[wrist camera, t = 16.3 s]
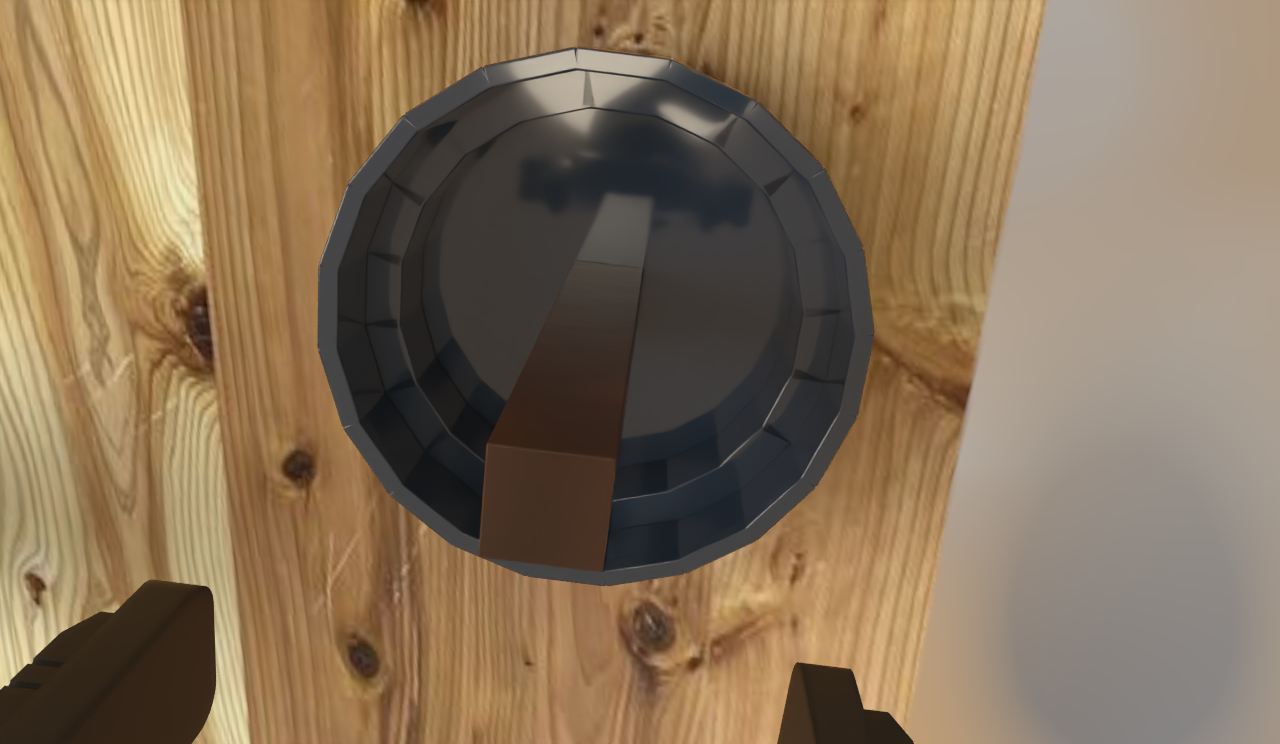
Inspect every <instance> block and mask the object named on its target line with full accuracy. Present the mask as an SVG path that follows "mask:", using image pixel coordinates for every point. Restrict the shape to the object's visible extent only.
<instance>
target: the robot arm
mask: <svg viewBox="0 0 1280 744" xmlns="http://www.w3.org/2000/svg"><path fill="white" fill-rule="evenodd" d="M215 688H216V660H215V629H214V601H213V595H212V592H211V590H210V589H209V588H208V587H207V586H199V585H192V584H184V583H176V582H168V581H160V580H149V581H147V582H145V583H144V584H143V585H142V586H141V587H140V588H139V589H138V590H137V591H136V592H135V593H134V594H133V595H132V596H131V597H130V598H129V599H128V600H127V601H126V602H125V603H124V604H123V605H122V606H121V607H120V608H119V609H118V610H117V611H116V612H115V613H108V612H99V613H97V614H95V615H93V616H91V617H89V618H88V619H86V620H84V621H82V622H80V623H78V624H76V625H74V626H72V627H70V628H69V629H67V630H65V631H63V632H61V633H60V634H59V635H58V636H57V637H56V638H55V639H54V640H53V641H52V642H50V643H49V644H48V645H47V646H46V647H45V648H44V649H43V650H42V651H41V652H40V653H39V654H38V655H37V656H36V657H35V658H34V659H33V663H32V664H27V665H26V666H25V667H24V668H23V669H22V670H21V671H20V672H19V673H18V674H17V675H16V676H15V677H13V678H12V679H11V682H10V685H9V686H4V687H3V688H2V689H1V690H0V744H192V742H193V741H194V740H195V738H196V737H197V735H198V734H199V732H200V731H201V729H202V728H203V726H204V724H205V722H206V720H207V718H208V715H209V713H210V710H211V707H212V703H213V699H214V695H215ZM777 744H914V743H913V741H912V740H911V738H910V737H909V736H908V735H907V734H906V732H905V731H904V730H903V729H902V728H901V727H900V725H899V724H898V723H897V722H896V721H895V719H894V718H893V717H892V716H891V715H890V714H889V712H881V711H873V710H865V709H863V705H862V702H861V698H860V694H859V691H858V687H857V684H856V680H855V677H854V674H853V672H852V670H851V669H846V668H838V667H830V666H822V665H814V664H806V663H798V662H797V663H796V664H795V666H794V668H793V671H792V675H791V680H790V685H789V689H788V694H787V699H786V704H785V709H784V714H783V719H782V724H781V728H780V733H779V738H778V743H777Z"/></svg>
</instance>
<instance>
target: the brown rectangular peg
mask: <svg viewBox="0 0 1280 744" xmlns="http://www.w3.org/2000/svg"><path fill="white" fill-rule="evenodd" d="M643 274H644V269H640V268H632V267H624V266H616V265H609V264H601V263H593V262H585V261H577V260H576V261H574V263H573V266H572V268H571V270H570V272H569V274H568V276H567V278H566V280H565V282H564V284H563V286H562V288H561V291H560V293H559V295H558V297H557V299H556V301H555V303H554V305H553V307H552V309H551V311H550V313H549V316H548V318H547V320H546V322H545V324H544V326H543V328H542V330H541V332H540V334H539V336H538V338H537V340H536V343H535V345H534V347H533V349H532V351H531V353H530V355H529V357H528V359H527V361H526V363H525V365H524V368H523V370H522V372H521V374H520V376H519V378H518V380H517V382H516V384H515V386H514V388H513V390H512V393H511V395H510V397H509V399H508V401H507V403H506V405H505V407H504V409H503V411H502V413H501V415H500V418H499V420H498V422H497V424H496V426H495V428H494V430H493V432H492V434H491V436H490V438H489V440H488V443H487V445H486V458H485V472H484V485H483V499H482V513H481V526H480V540H479V553H478V555H479V557H482V558H490V559H498V560H506V561H514V562H522V563H530V564H538V565H546V566H554V567H562V568H570V569H578V570H586V571H594V572H602V571H603V566H604V559H605V552H606V545H607V538H608V530H609V523H610V516H611V509H612V502H613V495H614V488H615V481H616V473H617V466H618V459H619V452H620V445H621V438H622V431H623V423H624V416H625V409H626V402H627V395H628V388H629V381H630V373H631V366H632V359H633V352H634V345H635V338H636V330H637V322H638V314H639V306H640V298H641V290H642V282H643Z"/></svg>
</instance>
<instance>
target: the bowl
mask: <svg viewBox="0 0 1280 744" xmlns="http://www.w3.org/2000/svg"><path fill="white" fill-rule="evenodd" d="M576 260H577V261H585V262H593V263H601V264H609V265H616V266H624V267H632V268H640V269H644V274H643V282H642V290H641V298H640V306H639V314H638V322H637V330H636V338H635V345H634V352H633V359H632V366H631V373H630V381H629V388H628V395H627V402H626V409H625V416H624V423H623V431H622V438H621V445H620V452H619V459H618V466H617V473H616V481H615V488H614V495H613V502H612V509H611V516H610V523H609V530H608V538H607V545H606V552H605V559H604V566H603V571H602V572H594V571H586V570H578V569H570V568H562V567H554V566H546V565H538V564H530V563H522V562H514V561H506V560H498V559H490V558H483V559H486V560H488V561H491V562H493V563H495V564H498V565H500V566H502V567H505V568H507V569H510V570H512V571H514V572H517V573H519V574H522V575H524V576H528V577H535V578H543V579H551V580H559V581H567V582H575V583H583V584H591V585H599V586H605V585H607V586H612V585H618V584H625V583H631V582H638V581H644V580H651V579H657V578H664V577H670V576H677V575H683V574H684V573H685V574H686V573H689V572H691V571H693V570H695V569H697V568H699V567H701V566H704V565H706V564H708V563H710V562H712V561H714V560H716V559H719V558H721V557H723V556H725V555H727V554H729V553H731V552H734V551H736V550H738V549H740V548H742V547H744V546H746V545H749V544H751V543H753V542H755V541H756V540H758V539H759V538H760V537H761V536H763V535H764V534H765V533H766V532H767V531H768V530H769V529H770V528H771V527H773V526H774V525H775V524H776V523H777V522H778V521H779V520H780V519H781V518H783V517H784V516H785V515H786V514H787V513H788V512H789V511H790V510H791V509H793V508H794V507H795V506H796V505H797V504H798V503H799V502H800V501H801V500H803V499H804V498H805V497H806V496H807V495H808V494H809V493H810V492H811V491H813V490H814V489H815V486H817V485H818V484H819V482H820V480H821V478H822V477H823V475H824V473H825V472H826V470H827V468H828V466H829V465H830V463H831V461H832V460H833V458H834V456H835V454H836V453H837V451H838V449H839V448H840V446H841V444H842V443H843V441H844V439H845V437H846V436H847V434H848V432H849V431H850V429H851V427H852V425H853V424H854V422H855V420H856V418H857V415H858V413H859V408H860V403H861V398H862V394H863V389H864V384H865V379H866V375H867V370H868V365H869V360H870V356H871V351H872V346H873V341H874V333H875V332H874V323H873V315H872V307H871V299H870V291H869V283H868V275H867V266H866V258H865V251H864V249H863V245H862V243H861V241H860V239H859V237H858V235H857V233H856V231H855V228H854V226H853V224H852V222H851V220H850V218H849V216H848V214H847V212H846V210H845V208H844V206H843V204H842V202H841V200H840V198H839V196H838V194H837V192H836V190H835V188H834V185H833V183H832V181H831V179H830V177H829V175H828V173H827V171H826V169H824V168H823V165H822V164H821V163H820V162H819V161H818V160H817V159H816V158H815V157H814V156H813V155H812V154H811V153H810V152H809V151H808V150H807V149H806V148H805V147H804V146H803V145H802V144H801V143H800V142H799V141H798V140H797V139H796V138H795V137H794V136H793V135H792V134H791V133H790V132H789V131H788V130H787V129H786V128H785V127H784V126H783V125H782V124H781V123H780V122H779V121H778V120H777V119H776V118H775V117H774V116H773V115H772V114H771V113H770V112H769V111H768V110H767V109H766V108H765V107H764V106H763V105H762V104H761V103H760V102H758V101H757V100H756V99H754V98H752V97H751V96H749V95H747V94H746V93H744V92H742V91H740V90H738V89H736V88H734V87H732V86H730V85H728V84H726V83H724V82H722V81H720V80H718V79H716V78H714V77H712V76H710V75H708V74H706V73H704V72H702V71H700V70H698V69H696V68H694V67H691V66H689V65H687V64H685V63H683V62H681V61H679V60H677V59H675V58H673V59H672V58H671V57H667V56H659V55H651V54H643V53H635V52H627V51H620V50H612V49H604V48H596V47H571V48H566V49H561V50H557V51H552V52H547V53H542V54H538V55H533V56H528V57H523V58H518V59H514V60H509V61H504V62H499V63H495V64H490V65H486V66H484V67H480V68H479V69H477V70H475V71H474V72H472V73H471V74H469V75H467V76H466V77H464V78H462V79H461V80H459V81H457V82H456V83H454V84H452V85H451V86H449V87H447V88H446V89H444V90H443V91H441V92H439V93H438V94H436V95H434V96H433V97H431V98H429V99H428V100H426V101H424V102H423V103H421V104H419V105H418V106H416V107H414V108H413V109H411V110H410V111H408V112H406V114H405V115H403V116H402V117H401V118H400V119H399V121H398V122H397V123H396V124H395V126H394V127H393V128H392V129H391V130H390V132H389V133H388V134H387V135H386V137H385V138H384V139H383V140H382V142H381V143H380V144H379V145H378V146H377V148H376V149H375V150H374V151H373V153H372V154H371V155H370V156H369V158H368V159H367V160H366V161H365V162H364V164H363V165H362V166H361V167H360V169H359V170H358V171H357V172H356V173H355V175H354V176H353V177H352V178H351V180H350V181H349V184H348V185H347V186H346V189H345V192H344V195H343V198H342V200H341V203H340V206H339V209H338V212H337V214H336V217H335V220H334V223H333V226H332V229H331V231H330V234H329V237H328V240H327V243H326V245H325V248H324V251H323V254H322V257H321V259H320V265H319V267H318V349H319V354H320V357H321V360H322V364H323V367H324V370H325V373H326V376H327V379H328V383H329V386H330V389H331V392H332V395H333V398H334V401H335V405H336V408H337V411H338V414H339V417H340V420H341V423H342V426H343V427H344V430H345V432H346V433H347V435H348V436H349V438H350V439H351V440H352V442H353V443H354V445H355V446H356V448H357V449H358V451H359V452H360V453H361V455H362V456H363V458H364V459H365V461H366V462H367V463H368V465H369V466H370V468H371V469H372V471H373V472H374V473H375V475H376V476H377V478H378V479H379V481H380V482H381V484H382V485H383V486H384V488H385V489H386V491H387V492H388V493H389V494H390V496H391V497H392V498H394V499H395V500H396V501H397V502H399V503H400V504H401V505H402V506H404V507H405V508H406V509H407V510H409V511H410V512H411V513H412V514H414V515H415V516H416V517H417V518H419V519H420V520H421V521H422V522H424V523H425V524H426V525H427V526H429V527H430V528H431V529H432V530H434V531H435V532H436V533H437V534H439V535H440V536H441V537H442V538H444V539H445V540H446V541H447V542H449V543H450V544H451V545H453V546H455V547H457V548H460V549H462V550H464V551H467V552H469V553H472V554H474V555H476V556H479V555H478V553H479V540H480V526H481V513H482V499H483V485H484V472H485V458H486V445H487V443H488V440H489V438H490V436H491V434H492V432H493V430H494V428H495V426H496V424H497V422H498V420H499V418H500V415H501V413H502V411H503V409H504V407H505V405H506V403H507V401H508V399H509V397H510V395H511V393H512V390H513V388H514V386H515V384H516V382H517V380H518V378H519V376H520V374H521V372H522V370H523V368H524V365H525V363H526V361H527V359H528V357H529V355H530V353H531V351H532V349H533V347H534V345H535V343H536V340H537V338H538V336H539V334H540V332H541V330H542V328H543V326H544V324H545V322H546V320H547V318H548V316H549V313H550V311H551V309H552V307H553V305H554V303H555V301H556V299H557V297H558V295H559V293H560V291H561V288H562V286H563V284H564V282H565V280H566V278H567V276H568V274H569V272H570V270H571V268H572V266H573V263H574V261H576ZM481 558H482V557H481Z"/></svg>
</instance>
